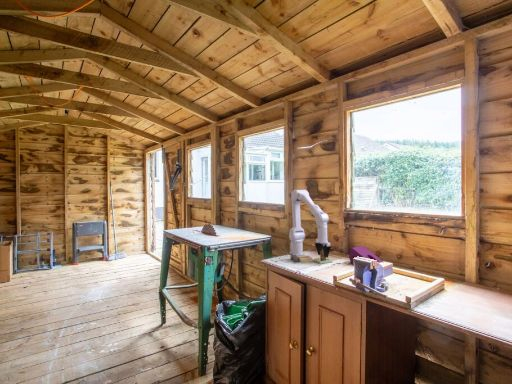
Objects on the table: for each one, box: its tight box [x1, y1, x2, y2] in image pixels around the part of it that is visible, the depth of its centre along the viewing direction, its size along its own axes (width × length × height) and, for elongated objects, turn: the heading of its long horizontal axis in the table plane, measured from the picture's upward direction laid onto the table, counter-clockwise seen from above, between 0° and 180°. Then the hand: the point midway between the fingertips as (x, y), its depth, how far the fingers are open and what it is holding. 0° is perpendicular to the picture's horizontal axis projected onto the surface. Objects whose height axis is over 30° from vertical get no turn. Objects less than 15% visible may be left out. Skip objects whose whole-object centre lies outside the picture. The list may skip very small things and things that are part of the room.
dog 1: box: [289, 253, 295, 262], centre depth 184 cm, size 3×3×4 cm
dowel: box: [319, 250, 326, 261], centre depth 178 cm, size 3×3×6 cm
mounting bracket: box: [348, 245, 384, 265], centre depth 168 cm, size 9×8×18 cm
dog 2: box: [293, 255, 300, 263], centre depth 179 cm, size 3×3×4 cm
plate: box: [298, 254, 314, 263], centre depth 183 cm, size 8×8×2 cm
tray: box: [313, 257, 333, 265], centre depth 178 cm, size 8×8×2 cm
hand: (323, 256), depth 178 cm, fingers open, 7 cm apart
